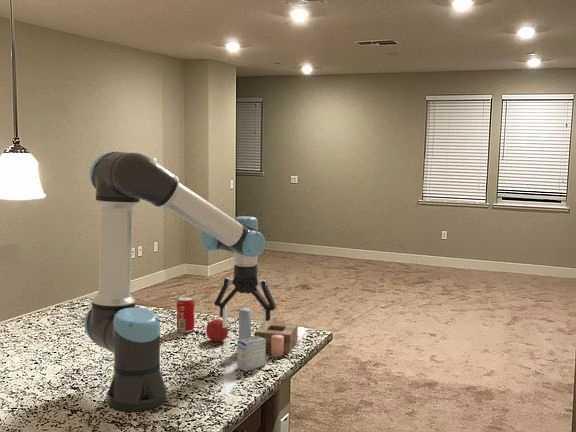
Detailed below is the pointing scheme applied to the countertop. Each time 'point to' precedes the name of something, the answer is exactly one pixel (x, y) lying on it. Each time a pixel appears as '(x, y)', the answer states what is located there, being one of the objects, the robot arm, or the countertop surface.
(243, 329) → the long pin
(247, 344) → the medicine box
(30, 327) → the countertop surface
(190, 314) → the beverage can
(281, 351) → the short pin
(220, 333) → the tomato
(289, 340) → the hole block
